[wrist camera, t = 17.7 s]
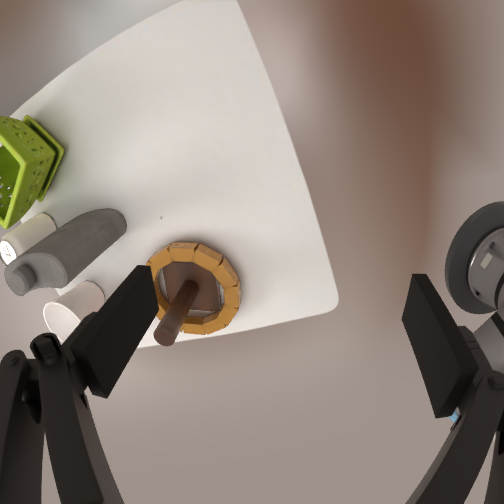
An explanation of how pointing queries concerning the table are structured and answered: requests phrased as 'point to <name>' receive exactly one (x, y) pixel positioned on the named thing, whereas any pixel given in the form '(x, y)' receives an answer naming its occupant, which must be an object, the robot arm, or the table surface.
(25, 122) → the flower pot
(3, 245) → the can
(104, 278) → the table surface
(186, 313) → the peg stand
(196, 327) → the hoop
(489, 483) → the robot arm
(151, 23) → the table surface
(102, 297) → the cup
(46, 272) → the flask
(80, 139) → the table surface
